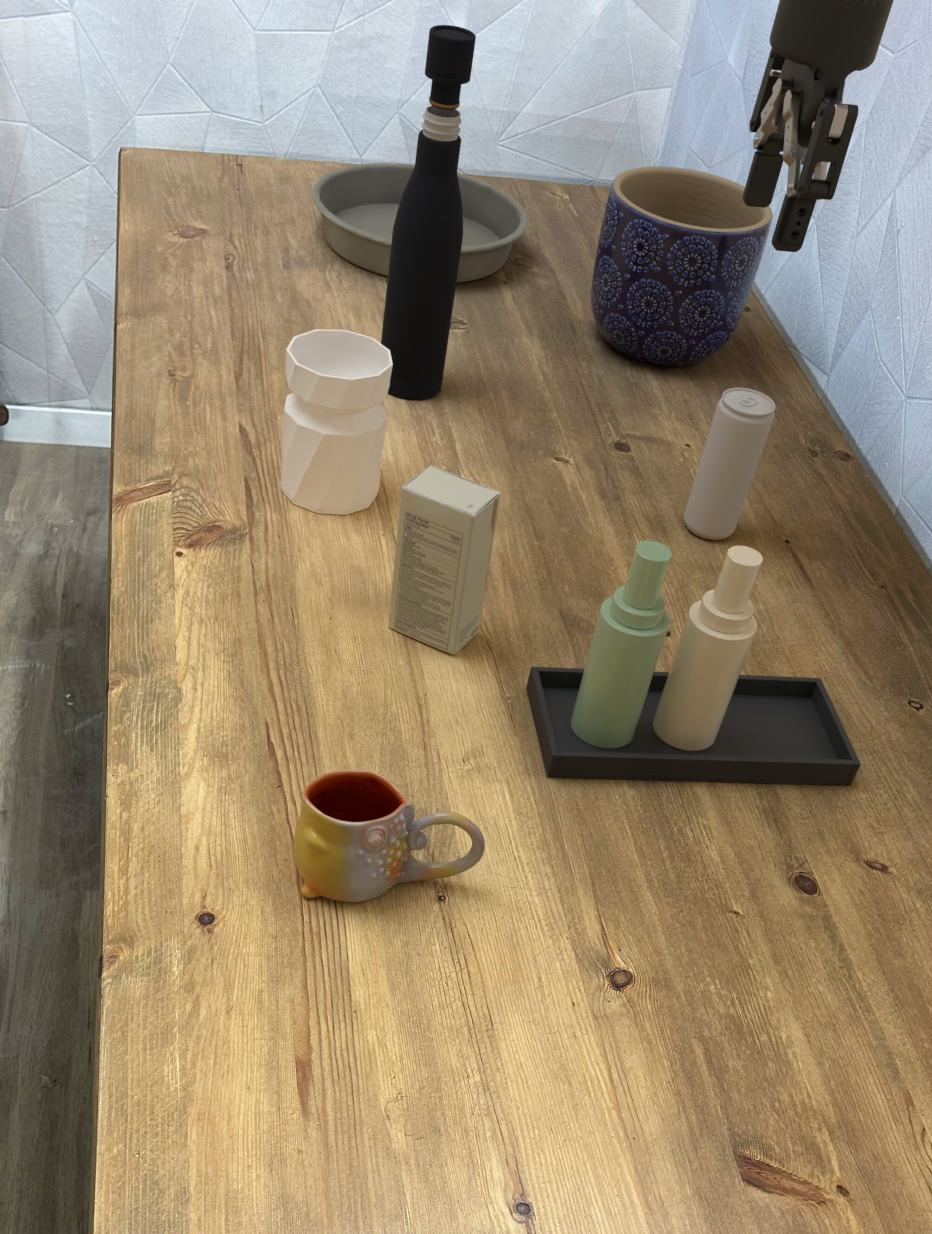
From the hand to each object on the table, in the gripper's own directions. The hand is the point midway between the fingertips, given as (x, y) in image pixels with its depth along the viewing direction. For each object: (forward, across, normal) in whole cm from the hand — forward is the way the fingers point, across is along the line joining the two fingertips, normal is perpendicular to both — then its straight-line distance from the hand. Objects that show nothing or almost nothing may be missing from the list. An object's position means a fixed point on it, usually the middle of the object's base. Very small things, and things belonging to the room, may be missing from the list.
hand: (769, 226), depth 104 cm
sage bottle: (+24, -31, +14) cm, 42 cm away
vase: (+25, +1, +32) cm, 41 cm away
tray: (+25, -31, +7) cm, 40 cm away
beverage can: (+25, -2, -2) cm, 25 cm away
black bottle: (+25, +21, +23) cm, 40 cm away
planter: (+25, +34, -4) cm, 42 cm away
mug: (+25, -46, +31) cm, 61 cm away
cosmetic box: (+25, -19, +25) cm, 40 cm away
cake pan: (+25, +55, +20) cm, 63 cm away
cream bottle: (+24, -31, +8) cm, 40 cm away
